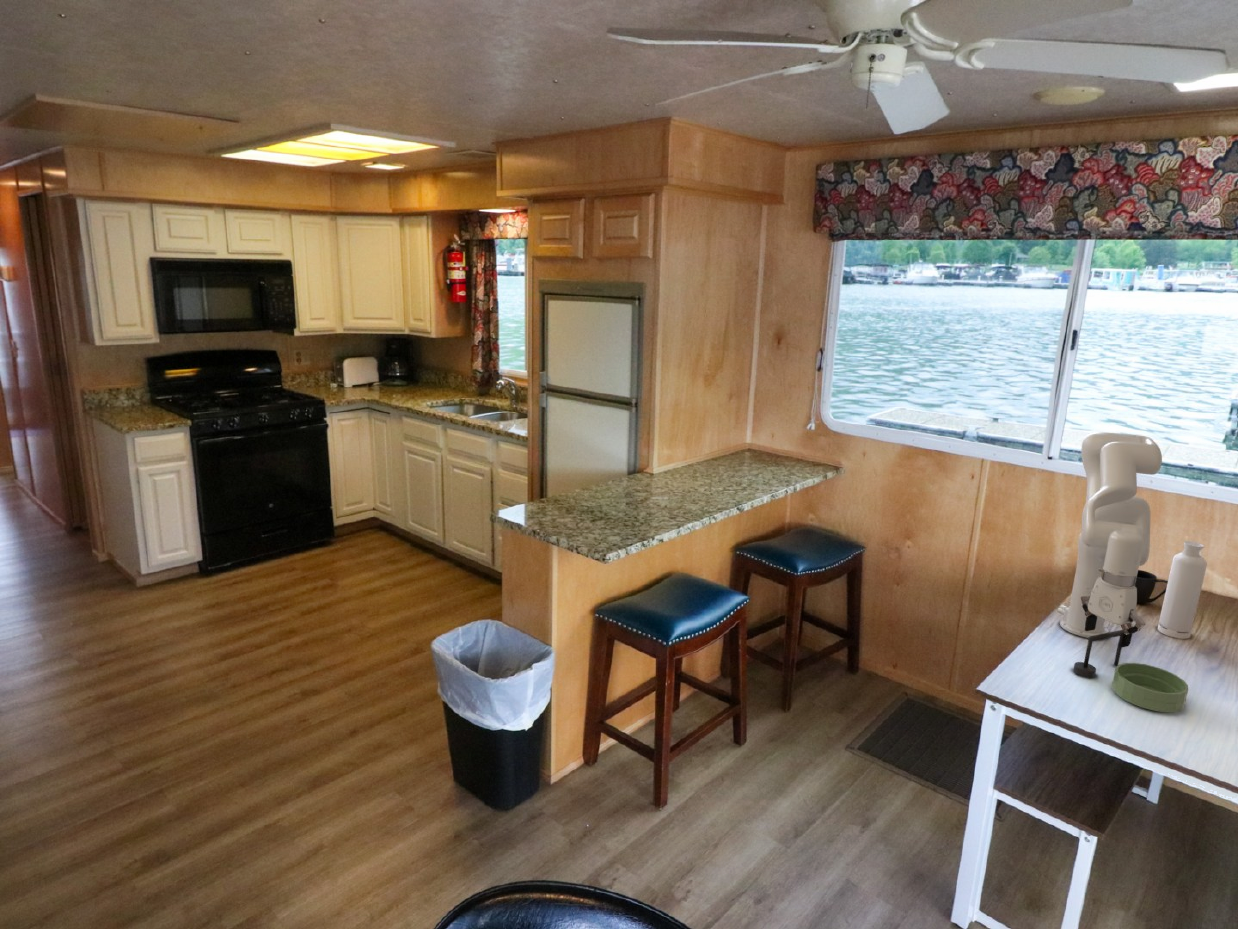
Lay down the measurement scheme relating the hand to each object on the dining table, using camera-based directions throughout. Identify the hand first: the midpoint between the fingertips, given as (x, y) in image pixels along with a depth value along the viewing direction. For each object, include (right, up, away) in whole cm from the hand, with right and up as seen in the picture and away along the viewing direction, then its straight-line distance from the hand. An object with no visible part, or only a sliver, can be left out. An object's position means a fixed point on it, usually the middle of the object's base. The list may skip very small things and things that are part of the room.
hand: (1106, 638), depth 207 cm
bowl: (+3, -13, -11) cm, 17 cm away
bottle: (+36, -4, +26) cm, 45 cm away
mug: (+41, +1, +47) cm, 62 cm away
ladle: (-1, -9, +2) cm, 9 cm away
